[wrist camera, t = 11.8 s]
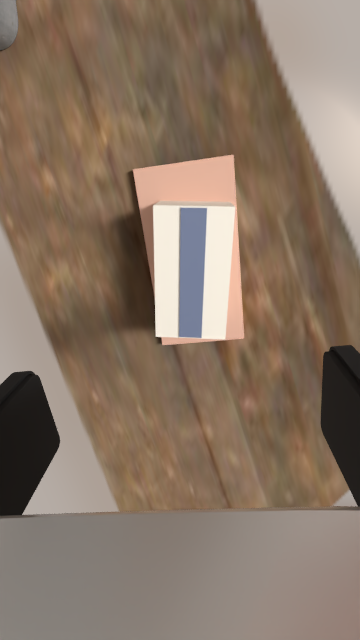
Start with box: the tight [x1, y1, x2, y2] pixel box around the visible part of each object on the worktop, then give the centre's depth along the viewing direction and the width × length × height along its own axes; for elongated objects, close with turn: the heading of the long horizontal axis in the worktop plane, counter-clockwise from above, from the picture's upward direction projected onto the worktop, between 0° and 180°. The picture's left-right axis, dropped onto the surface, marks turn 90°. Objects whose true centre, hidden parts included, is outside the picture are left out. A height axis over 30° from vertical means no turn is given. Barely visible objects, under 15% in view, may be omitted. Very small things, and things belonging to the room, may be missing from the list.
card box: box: [153, 201, 235, 340], centre depth 23 cm, size 5×9×4 cm, turn 179°
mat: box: [133, 155, 244, 345], centre depth 26 cm, size 14×7×1 cm, turn 7°
